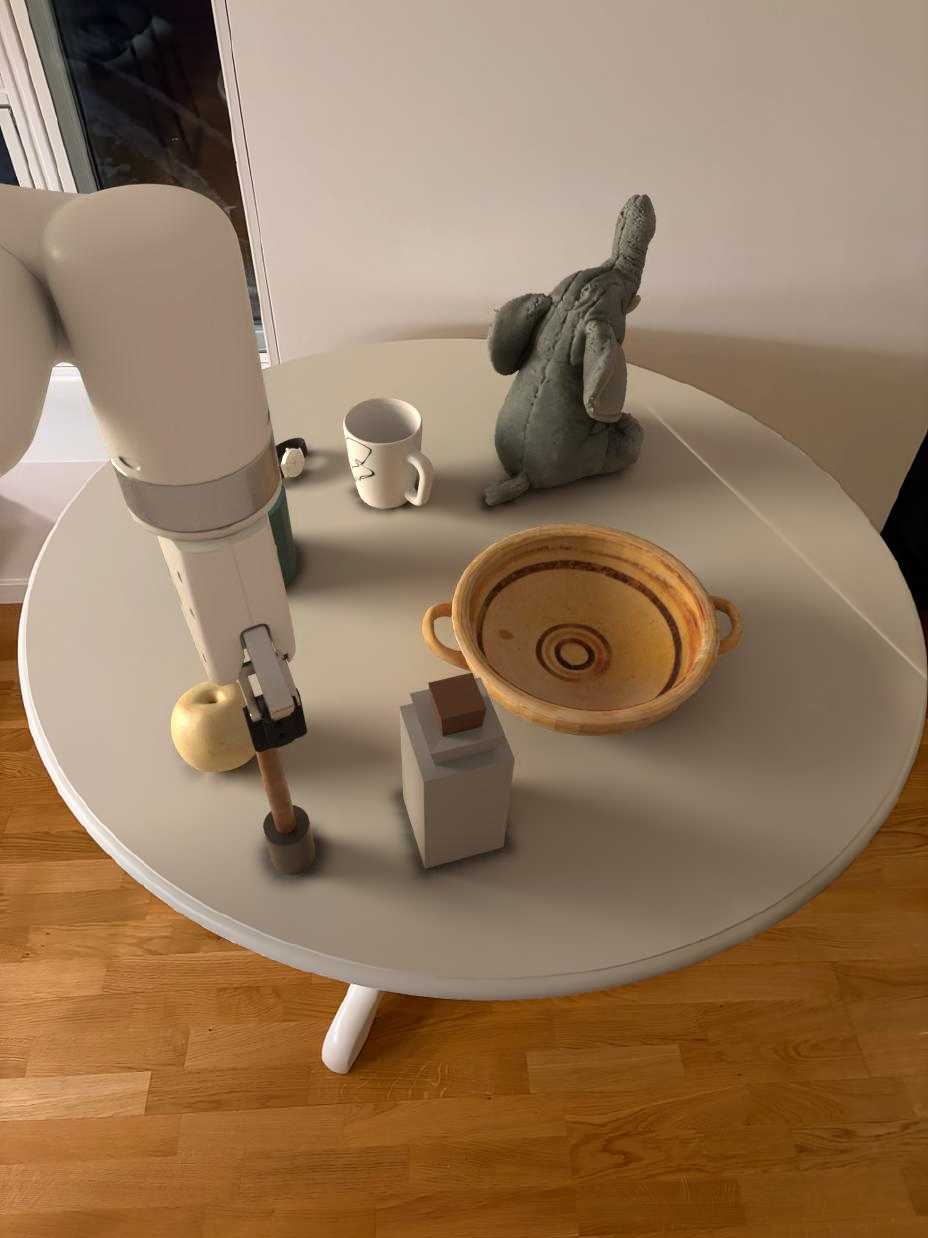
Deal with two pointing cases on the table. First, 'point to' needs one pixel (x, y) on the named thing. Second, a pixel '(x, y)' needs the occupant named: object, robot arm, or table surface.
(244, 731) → the apple
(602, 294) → the stuffed elephant
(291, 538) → the teal hollow cylinder
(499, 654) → the ceramic bowl
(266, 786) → the brush
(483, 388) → the table surface
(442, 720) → the perfume bottle
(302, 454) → the watch
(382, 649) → the table surface
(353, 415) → the mug
